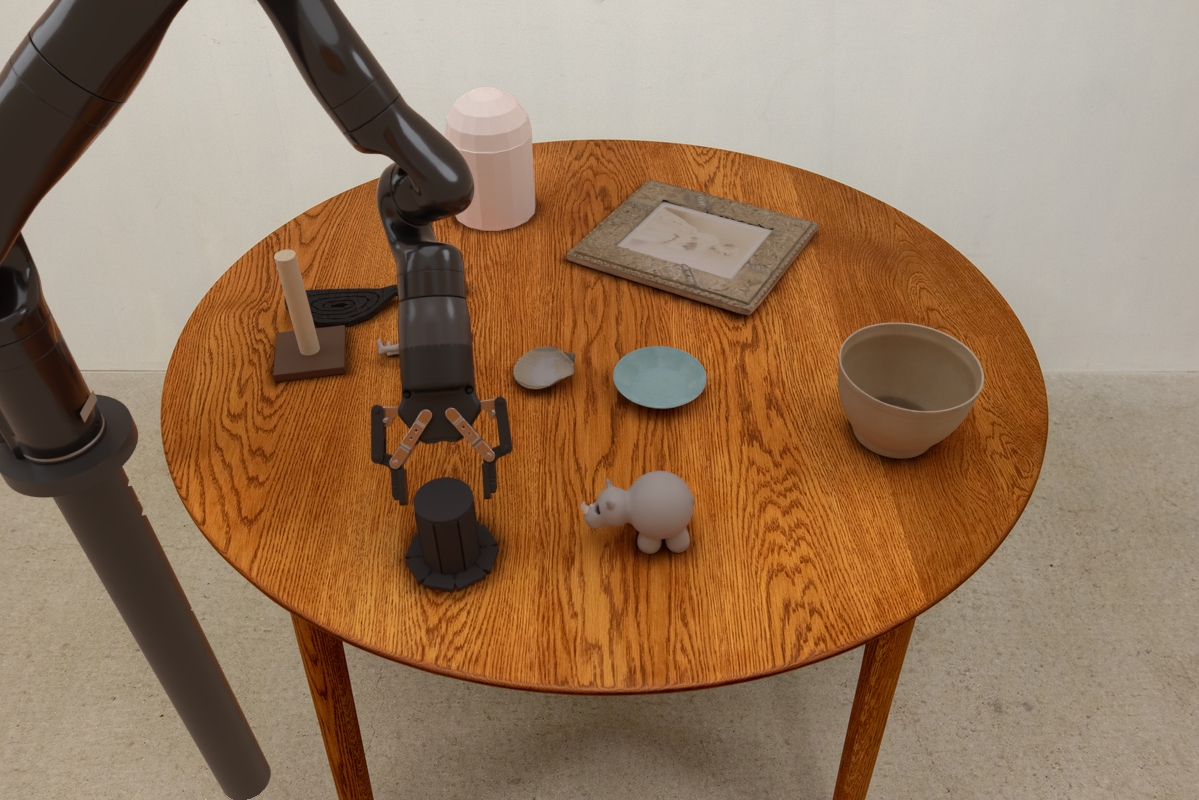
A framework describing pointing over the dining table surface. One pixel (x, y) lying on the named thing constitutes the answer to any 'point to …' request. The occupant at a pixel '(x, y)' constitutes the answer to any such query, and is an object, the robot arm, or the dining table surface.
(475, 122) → the container
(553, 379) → the seashell
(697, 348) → the dining table surface
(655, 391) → the saucer
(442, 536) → the hat
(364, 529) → the dining table surface
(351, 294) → the hairbrush
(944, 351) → the planter bowl
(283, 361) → the stand
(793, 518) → the dining table surface
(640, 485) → the round bodied animal figurine
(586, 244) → the picture frame
